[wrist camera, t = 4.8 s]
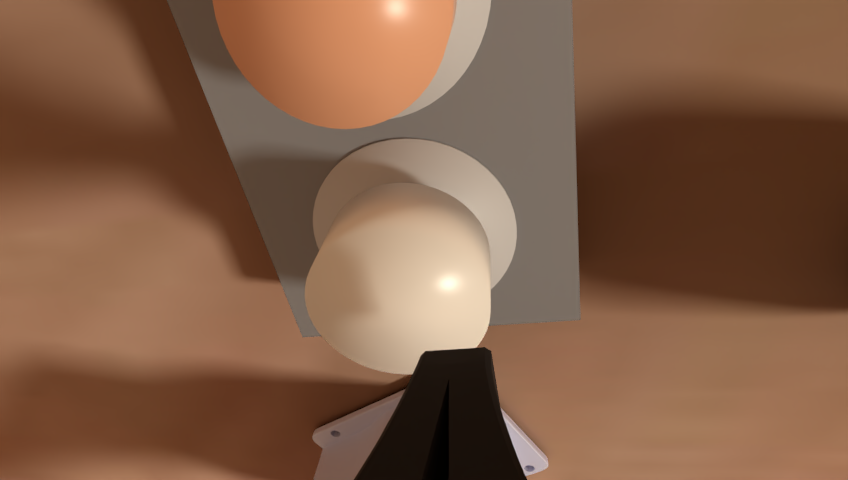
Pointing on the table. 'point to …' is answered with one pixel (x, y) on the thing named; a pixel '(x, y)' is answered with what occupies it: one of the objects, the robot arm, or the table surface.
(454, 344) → the cream button
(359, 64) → the terracotta button
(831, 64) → the table surface
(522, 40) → the console
